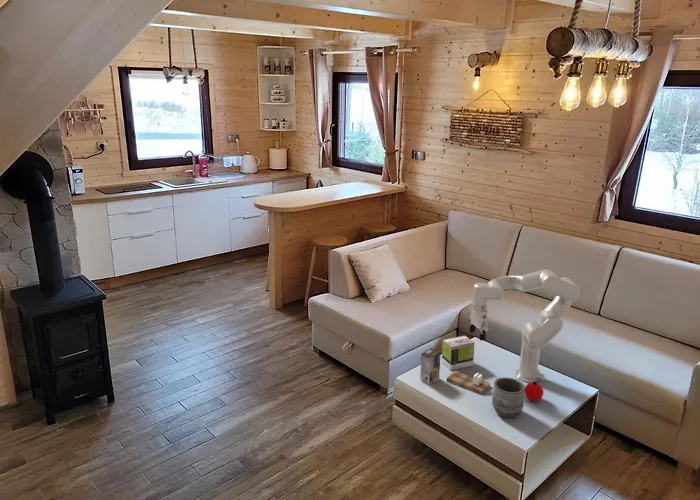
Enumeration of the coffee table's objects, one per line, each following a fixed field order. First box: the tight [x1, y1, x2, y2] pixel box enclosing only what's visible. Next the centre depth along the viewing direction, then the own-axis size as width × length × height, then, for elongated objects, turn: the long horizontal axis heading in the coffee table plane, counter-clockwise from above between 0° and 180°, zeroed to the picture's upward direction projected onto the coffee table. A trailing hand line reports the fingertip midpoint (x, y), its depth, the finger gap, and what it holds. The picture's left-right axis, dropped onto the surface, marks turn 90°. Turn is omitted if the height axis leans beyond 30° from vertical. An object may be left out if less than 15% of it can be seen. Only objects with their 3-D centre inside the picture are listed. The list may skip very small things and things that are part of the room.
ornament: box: [524, 381, 544, 402], centre depth 260 cm, size 9×9×10 cm
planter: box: [491, 377, 526, 419], centre depth 248 cm, size 14×14×15 cm
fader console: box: [446, 369, 491, 395], centre depth 274 cm, size 20×10×2 cm, turn 52°
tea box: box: [441, 335, 475, 371], centre depth 292 cm, size 15×10×15 cm, turn 111°
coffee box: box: [419, 347, 442, 385], centre depth 276 cm, size 9×6×16 cm
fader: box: [472, 372, 483, 385], centre depth 270 cm, size 3×4×5 cm
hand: (477, 335), depth 277 cm, fingers open, 9 cm apart
